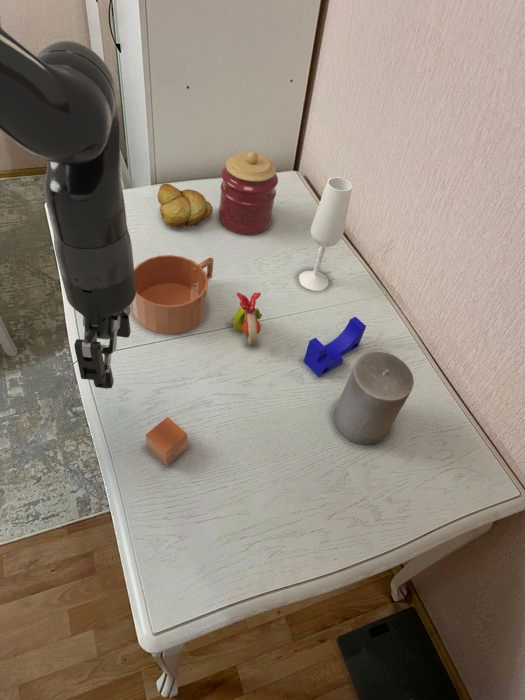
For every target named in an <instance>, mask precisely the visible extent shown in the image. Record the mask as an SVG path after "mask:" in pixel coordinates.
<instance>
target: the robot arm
mask: <svg viewBox="0 0 525 700" xmlns="http://www.w3.org/2000/svg"><path fill="white" fill-rule="evenodd" d="M118 93H119V92H118V87H117V84H116V80H115V78H114V76H113V74H112V72H111V70H110V67H108V65H107V64H106V62H105V61H104V59H102V57H100V56H99V55H98V53H96V52H95V51H94V50H92V49H91V48H90V47H88V46H86V45H84V44H82V43H79V42H76V41H71V40H62V41H57V42H53V43H51V44H49V45H47V46H46V47H45V48H43V49H42V50H41V51H39V52H38V54H37V55H35V54H34V53H32V52H31V51H30V50H29V49H27V47H25V46H24V45H23V44H22V43H20V42H19V41H17V40H16V39H15V38H14V37H13V36H12V35H10V34H9V33H8V32H7V31H6V30H4V28H3V27H2V19H1V17H0V132H1V133H2V134H3V135H5V137H7V138H9V139H10V140H11V141H12V142H14V143H15V144H16V145H18V146H19V147H21V148H22V149H23V150H25V151H27V152H29V153H31V154H32V155H34V156H36V157H38V158H41V159H43V160H45V161H47V167H46V171H45V177H44V182H43V183H44V185H43V189H44V199H45V204H46V208H47V212H48V216H49V220H50V225H51V228H52V234H53V245H54V253H55V257H56V260H57V264H58V268H59V272H60V276H61V281H62V284H63V288H64V293H65V295H66V300H67V302H68V304H69V305H70V307H71V308H73V309H74V310H75V311H76V312H77V313H79V314H80V315H82V326H83V327H84V333H83V334H84V335H83V339H81V338H80V339H79V338H77V339H75V342H74V344H73V345H74V352H75V357H76V362H77V366H78V370H79V371H78V372H79V374H80V379H81V380H88V381H89V380H90V381H93V385H94V387H95V388H97V389H98V388H99V389H106V390H108V389H112V388H113V386H114V377H113V372H112V371H113V370H112V366H111V365H112V364H111V363H112V354H113V353H114V352H116V351H117V343H118V341H117V339H118V337H120V338H129V337H130V335H131V332H132V331H131V323H130V317H129V316H130V314H131V311H132V309H131V304H132V302H133V300H134V298H135V295H136V282H135V273H134V269H135V264H134V256H133V255H134V253H133V245H132V239H131V235H130V233H129V229H128V223H127V213H126V205H125V197H124V191H123V187H122V181H121V180H122V179H121V178H122V177H121V113H120V102H119V101H120V100H119V94H118ZM98 339H100V340H109V341H108V343H109V344H101V341H98Z"/></svg>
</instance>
